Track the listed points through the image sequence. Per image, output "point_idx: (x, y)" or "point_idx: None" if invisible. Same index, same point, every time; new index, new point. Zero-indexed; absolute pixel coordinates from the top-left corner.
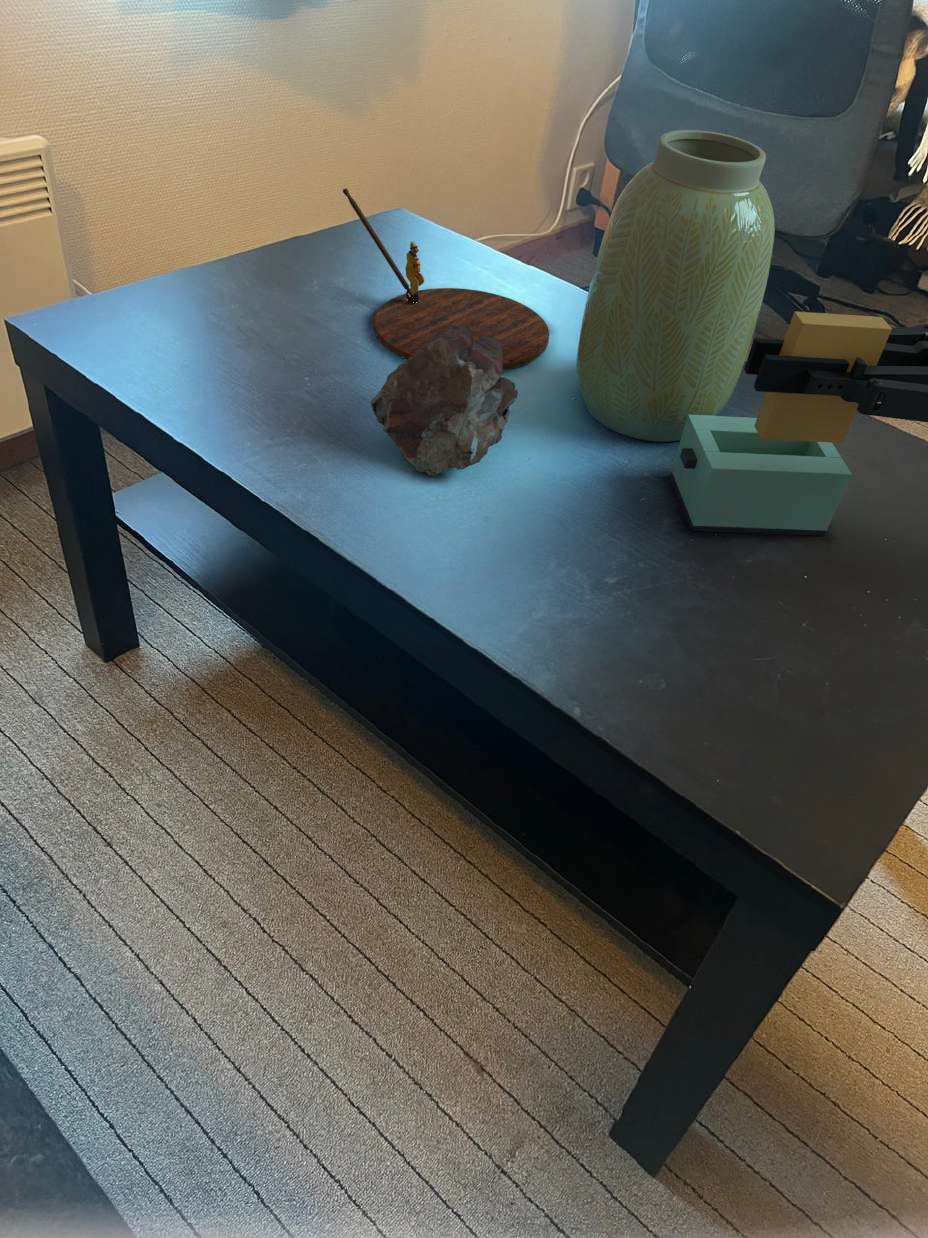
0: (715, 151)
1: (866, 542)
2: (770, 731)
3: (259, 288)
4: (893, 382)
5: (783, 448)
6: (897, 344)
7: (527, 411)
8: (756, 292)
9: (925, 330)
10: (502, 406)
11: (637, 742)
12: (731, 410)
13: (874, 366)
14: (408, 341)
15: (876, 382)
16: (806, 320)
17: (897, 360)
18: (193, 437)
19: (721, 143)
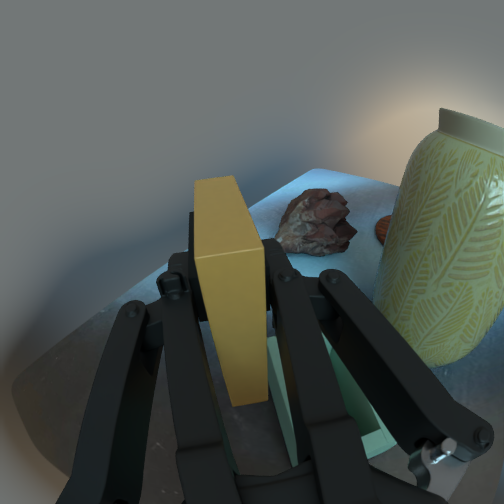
0: None
1: None
2: (73, 390)
3: (387, 192)
4: (131, 337)
5: (363, 411)
6: (335, 378)
7: (368, 273)
8: (472, 261)
9: (460, 435)
10: (311, 237)
11: (81, 331)
12: (462, 381)
13: (193, 317)
14: (387, 224)
15: (127, 306)
16: (204, 181)
17: (294, 396)
18: (270, 197)
19: None
